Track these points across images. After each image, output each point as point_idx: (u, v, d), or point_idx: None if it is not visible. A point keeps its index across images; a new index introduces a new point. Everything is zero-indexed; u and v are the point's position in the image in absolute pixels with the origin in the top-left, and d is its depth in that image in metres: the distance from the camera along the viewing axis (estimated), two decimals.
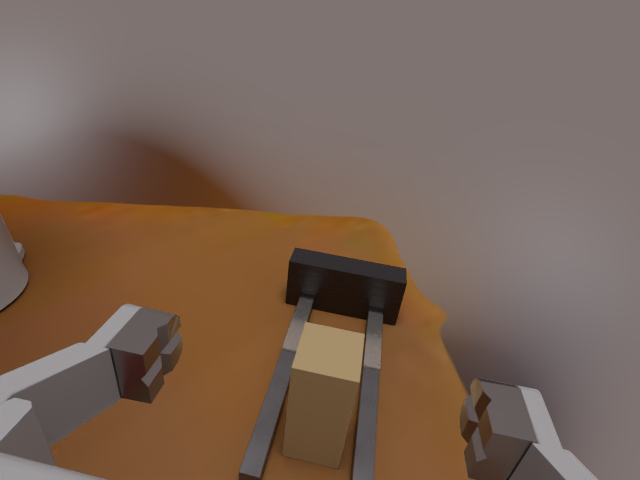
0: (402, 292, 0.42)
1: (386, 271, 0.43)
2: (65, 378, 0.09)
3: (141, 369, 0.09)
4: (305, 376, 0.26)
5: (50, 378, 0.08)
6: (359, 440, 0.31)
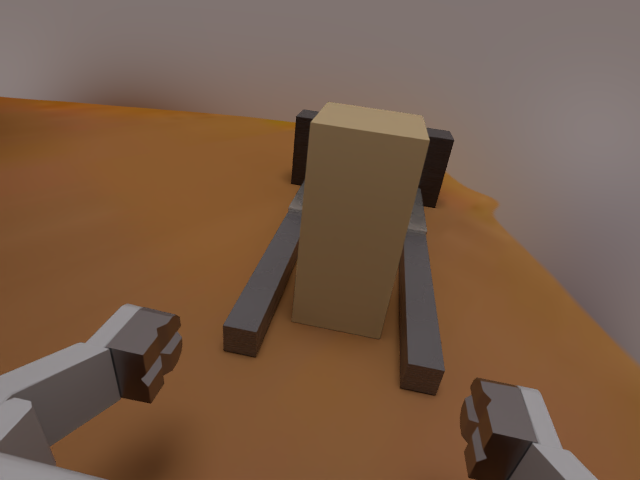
0: (447, 154, 0.32)
1: None
2: (65, 378, 0.09)
3: (141, 369, 0.09)
4: (333, 139, 0.15)
5: (50, 378, 0.08)
6: (410, 298, 0.20)
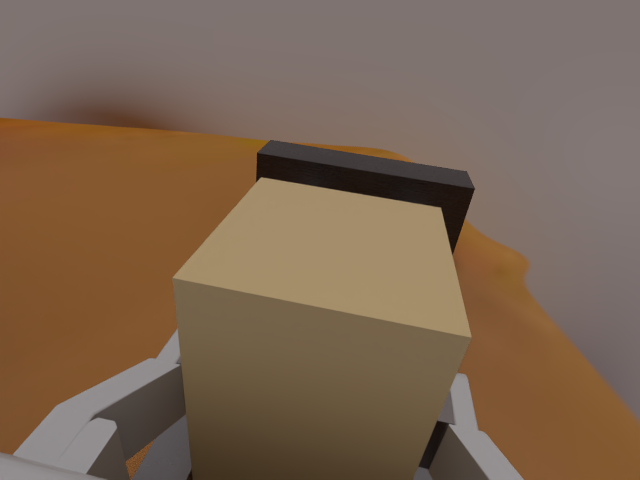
0: (465, 207, 0.23)
1: (433, 172, 0.24)
2: (141, 396, 0.08)
3: None
4: (232, 316, 0.06)
5: (128, 396, 0.08)
6: None
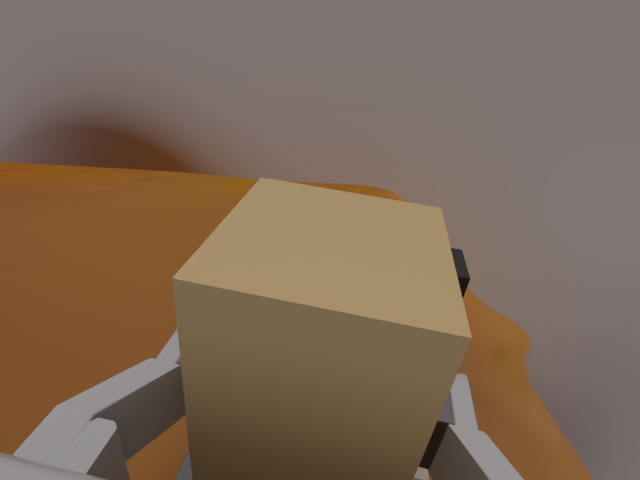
0: None
1: None
2: (141, 396, 0.08)
3: None
4: (232, 316, 0.06)
5: (129, 396, 0.08)
6: None
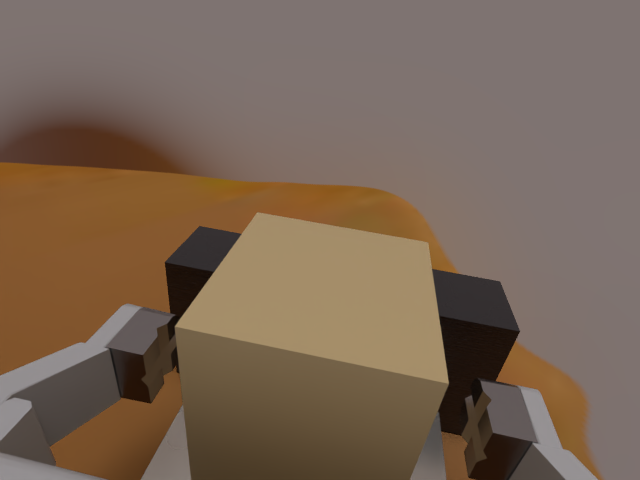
0: (502, 355, 0.14)
1: (448, 290, 0.15)
2: (65, 378, 0.09)
3: (141, 369, 0.09)
4: (230, 360, 0.07)
5: (51, 377, 0.08)
6: None
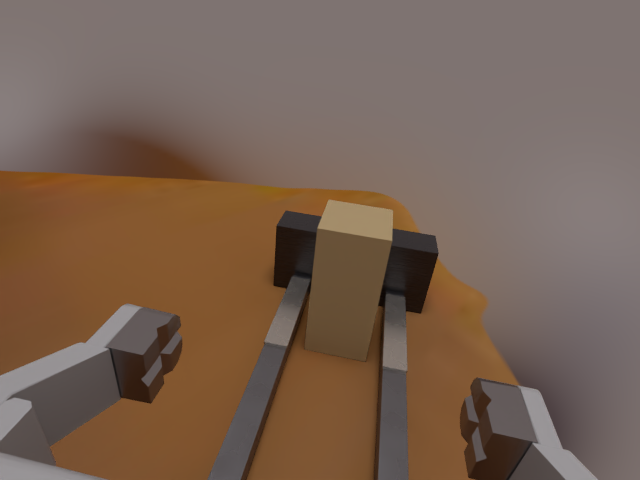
0: (432, 266, 0.31)
1: (408, 238, 0.32)
2: (65, 378, 0.09)
3: (141, 369, 0.09)
4: (332, 238, 0.24)
5: (50, 378, 0.08)
6: None
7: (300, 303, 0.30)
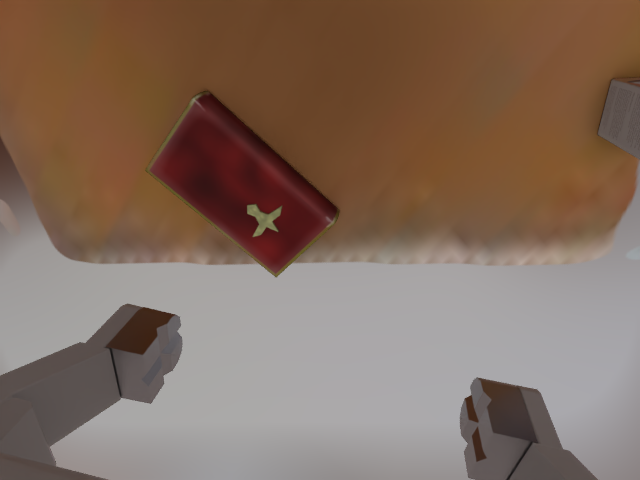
0: None
1: None
2: (65, 378, 0.09)
3: (141, 370, 0.09)
4: None
5: (51, 377, 0.08)
6: None
7: None
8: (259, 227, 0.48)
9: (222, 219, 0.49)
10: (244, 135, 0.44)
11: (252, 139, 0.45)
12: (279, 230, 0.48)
